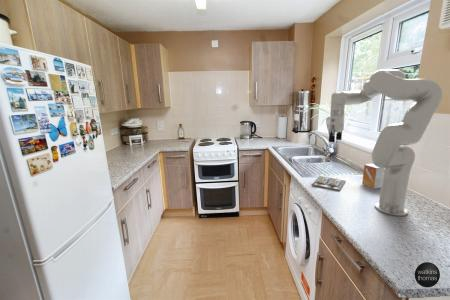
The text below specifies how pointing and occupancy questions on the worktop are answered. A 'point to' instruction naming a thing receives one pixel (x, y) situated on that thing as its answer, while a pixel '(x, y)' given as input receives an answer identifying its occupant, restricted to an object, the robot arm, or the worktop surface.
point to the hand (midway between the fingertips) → (335, 140)
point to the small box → (372, 176)
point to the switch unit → (327, 184)
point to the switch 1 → (321, 179)
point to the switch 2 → (333, 181)
